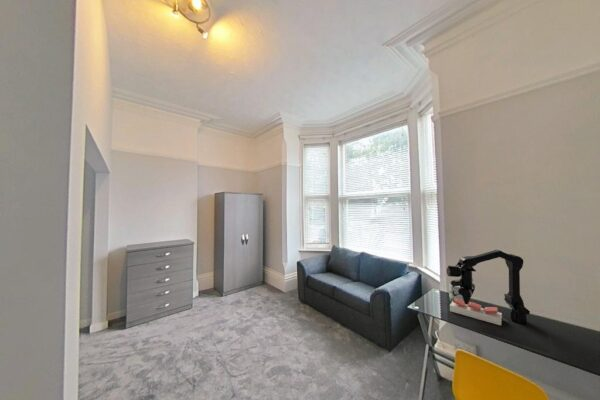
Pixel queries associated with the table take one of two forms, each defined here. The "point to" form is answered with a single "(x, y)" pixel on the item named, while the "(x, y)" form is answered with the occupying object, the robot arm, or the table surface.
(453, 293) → the ink box
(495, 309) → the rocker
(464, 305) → the rocker
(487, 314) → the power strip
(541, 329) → the table surface
